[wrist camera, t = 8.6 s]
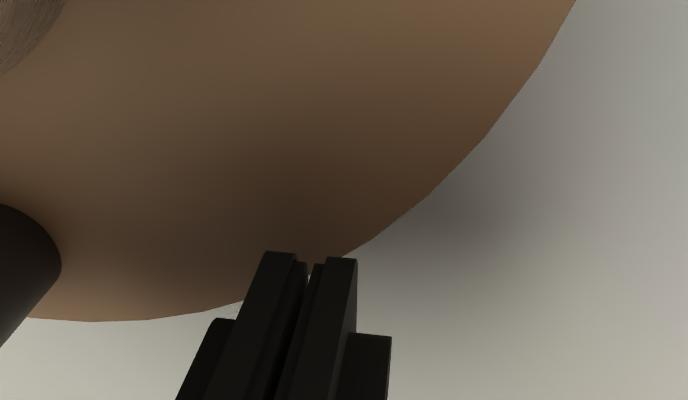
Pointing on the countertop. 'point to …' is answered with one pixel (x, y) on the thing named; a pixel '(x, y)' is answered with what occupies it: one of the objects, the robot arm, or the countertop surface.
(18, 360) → the countertop surface
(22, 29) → the cover
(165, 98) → the turntable
